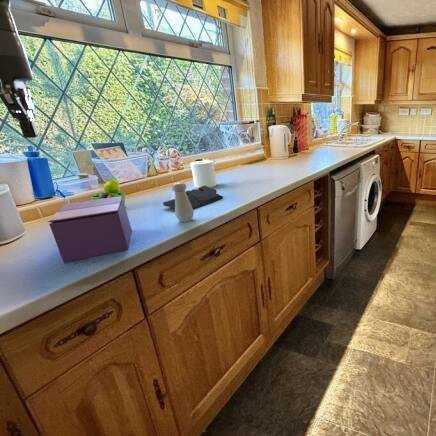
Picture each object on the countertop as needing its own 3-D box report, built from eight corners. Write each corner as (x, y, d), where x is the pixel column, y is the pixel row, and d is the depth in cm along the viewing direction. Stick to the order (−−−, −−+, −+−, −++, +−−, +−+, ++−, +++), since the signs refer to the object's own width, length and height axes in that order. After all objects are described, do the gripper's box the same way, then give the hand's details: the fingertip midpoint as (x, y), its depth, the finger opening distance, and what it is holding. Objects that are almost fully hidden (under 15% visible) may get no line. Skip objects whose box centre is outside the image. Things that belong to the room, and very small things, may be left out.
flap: (117, 211, 78) (117, 210, 78) (48, 222, 72) (48, 220, 72) (120, 204, 85) (119, 202, 85) (57, 213, 79) (57, 211, 79)
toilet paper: (190, 187, 150) (185, 163, 146) (208, 182, 158) (204, 159, 154) (203, 189, 145) (199, 164, 141) (221, 184, 153) (217, 160, 149)
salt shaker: (189, 216, 107) (181, 180, 103) (198, 219, 104) (191, 182, 100) (173, 221, 103) (165, 184, 98) (182, 224, 99) (174, 185, 95)
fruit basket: (93, 208, 121) (84, 180, 117) (115, 202, 128) (108, 176, 125) (110, 211, 116) (101, 182, 112) (132, 205, 124) (125, 177, 120)
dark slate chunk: (157, 208, 117) (154, 197, 115) (199, 194, 136) (197, 184, 134) (186, 212, 111) (184, 200, 110) (226, 197, 130) (225, 186, 129)
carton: (128, 249, 82) (117, 210, 78) (63, 263, 76) (47, 220, 72) (131, 230, 96) (122, 196, 92) (77, 240, 90) (64, 203, 86)
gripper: (-7, 59, 70) (20, 137, 75) (-37, 48, 59) (-2, 140, 64) (35, 61, 73) (58, 135, 79) (15, 51, 62) (43, 138, 68)
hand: (31, 137), depth 71 cm, fingers closed
